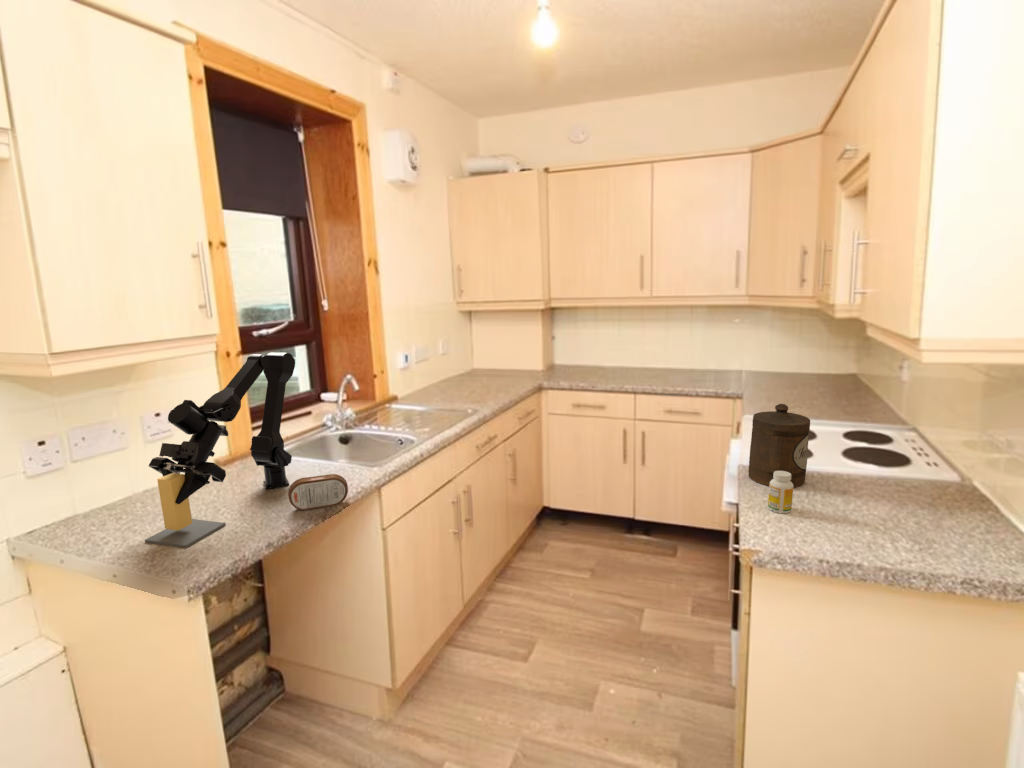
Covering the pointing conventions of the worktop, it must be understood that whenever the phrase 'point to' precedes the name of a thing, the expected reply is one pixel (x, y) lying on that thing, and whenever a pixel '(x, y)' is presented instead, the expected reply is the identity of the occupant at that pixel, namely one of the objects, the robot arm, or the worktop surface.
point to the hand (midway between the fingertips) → (169, 502)
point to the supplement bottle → (780, 492)
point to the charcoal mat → (185, 534)
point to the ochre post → (173, 512)
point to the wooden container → (779, 445)
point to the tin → (318, 491)
